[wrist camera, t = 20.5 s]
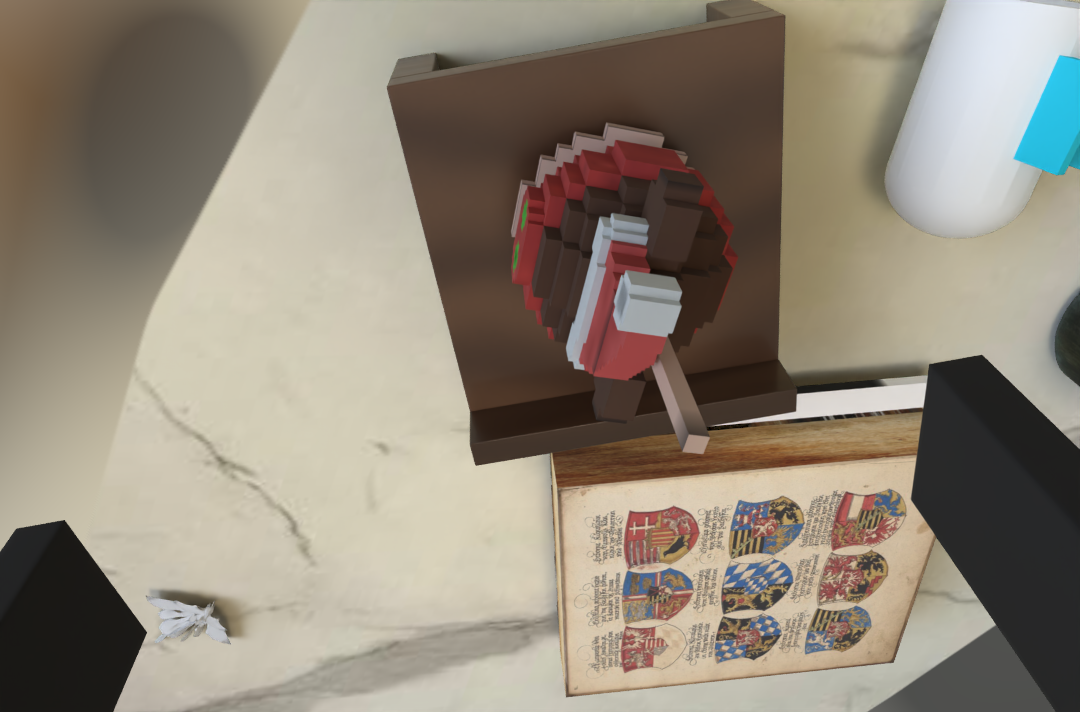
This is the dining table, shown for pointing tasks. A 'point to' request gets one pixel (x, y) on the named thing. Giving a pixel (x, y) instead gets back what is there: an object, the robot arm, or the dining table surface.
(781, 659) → the book
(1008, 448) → the robot arm
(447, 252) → the shelf
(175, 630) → the flower
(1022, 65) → the mug
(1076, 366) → the mug
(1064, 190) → the dining table surface
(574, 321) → the cake
